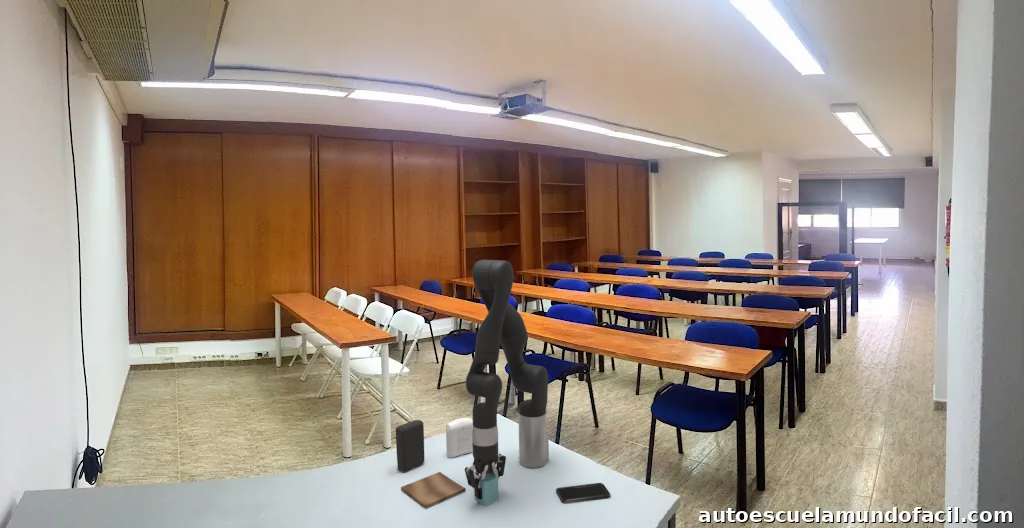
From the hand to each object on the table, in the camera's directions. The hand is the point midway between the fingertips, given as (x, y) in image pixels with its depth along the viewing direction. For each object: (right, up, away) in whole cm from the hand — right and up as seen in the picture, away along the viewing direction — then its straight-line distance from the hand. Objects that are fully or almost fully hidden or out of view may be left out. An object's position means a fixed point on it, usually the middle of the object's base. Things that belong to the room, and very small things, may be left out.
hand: (486, 494), depth 159 cm
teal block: (0, -1, 0) cm, 1 cm away
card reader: (-26, 0, +21) cm, 33 cm away
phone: (+29, -1, +2) cm, 29 cm away
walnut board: (-17, -1, +6) cm, 17 cm away
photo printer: (-10, +1, +31) cm, 32 cm away
